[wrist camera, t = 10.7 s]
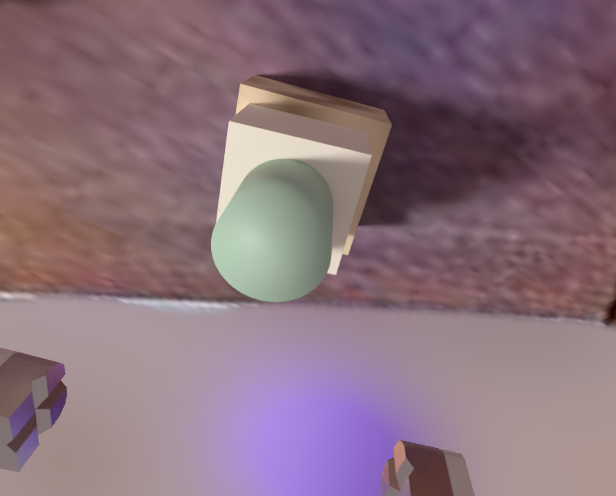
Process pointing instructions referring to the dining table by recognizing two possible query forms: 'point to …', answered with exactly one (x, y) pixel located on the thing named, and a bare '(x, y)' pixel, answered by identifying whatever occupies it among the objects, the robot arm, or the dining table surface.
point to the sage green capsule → (276, 232)
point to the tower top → (299, 159)
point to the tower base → (328, 111)
